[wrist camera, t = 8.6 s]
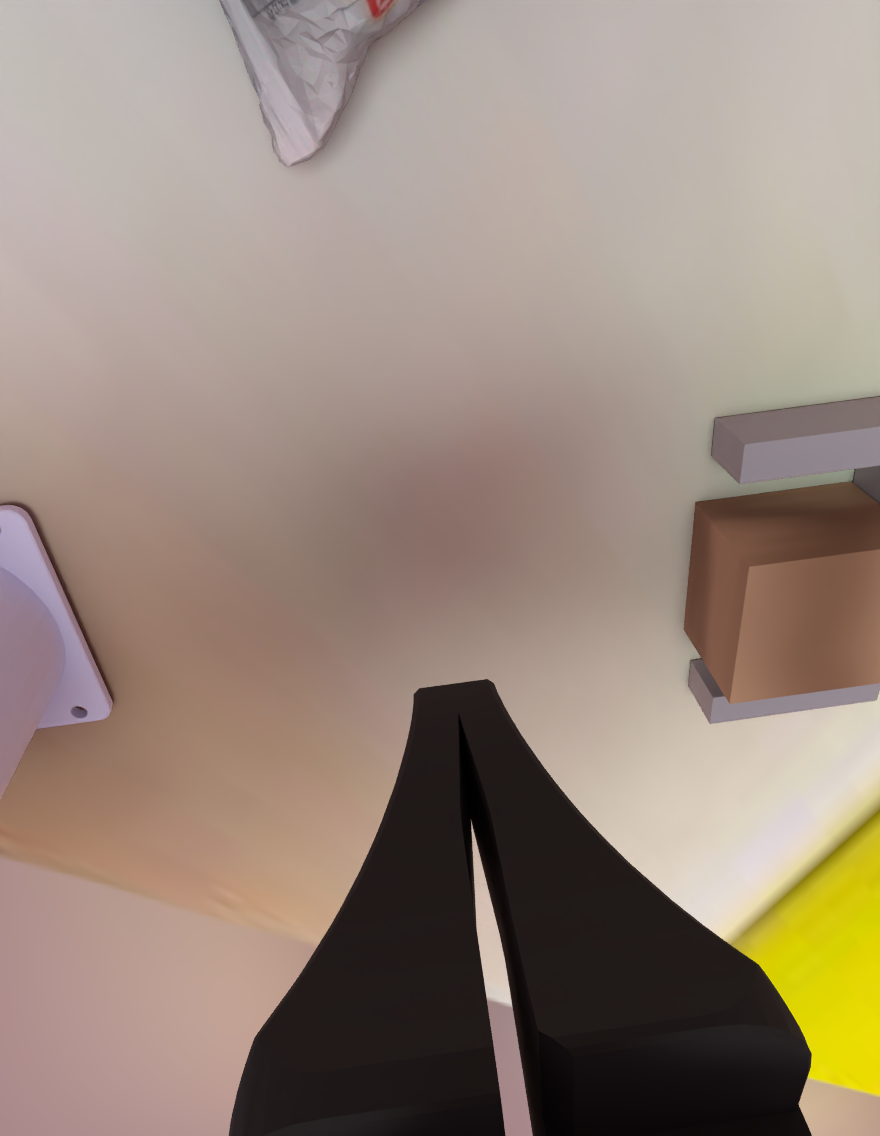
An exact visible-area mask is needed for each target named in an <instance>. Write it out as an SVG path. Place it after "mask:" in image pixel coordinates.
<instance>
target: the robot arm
mask: <svg viewBox="0 0 880 1136" xmlns="http://www.w3.org/2000/svg"><path fill="white" fill-rule="evenodd" d="M0 527H1V530H0V800H1V798H2V796H3V794H4V792H5V790H6V788H7V786H8V784H9V782H10V780H11V778H12V776H13V774H14V772H15V770H16V768H17V766H18V764H19V762H20V760H21V758H22V756H23V754H24V752H25V750H26V748H27V746H28V744H29V742H30V740H31V738H32V736H33V734H34V732H35V730H36V729H41V728H48V727H55V726H62V725H70V724H77V723H84V722H91V721H98V720H102V719H105V718H107V717H108V716H109V714H110V712H111V709H112V707H113V703H112V699H111V697H110V695H109V693H108V690H107V688H106V686H105V684H104V681H103V679H102V677H101V675H100V672H99V670H98V668H97V666H96V663H95V661H94V659H93V657H92V654H91V652H90V650H89V648H88V645H87V643H86V641H85V638H84V636H83V634H82V632H81V629H80V627H79V625H78V623H77V620H76V618H75V616H74V614H73V611H72V609H71V607H70V605H69V602H68V600H67V598H66V596H65V593H64V591H63V589H62V587H61V584H60V582H59V580H58V578H57V575H56V573H55V571H54V569H53V566H52V564H51V562H50V560H49V557H48V555H47V553H46V550H45V548H44V546H43V544H42V541H41V539H40V537H39V535H38V532H37V530H36V528H35V526H34V523H33V521H32V519H31V517H30V516H29V514H28V513H27V512H26V511H25V510H23V509H22V508H20V507H17V506H14V505H3V506H0ZM76 706H79V707H83V708H85V709H86V710H80V709H78V708H77V707H76ZM471 821H472V825H473V829H474V833H475V837H476V841H477V845H478V849H479V853H480V857H481V861H482V865H483V869H484V873H485V877H486V881H487V885H488V889H489V893H490V897H491V901H492V905H493V909H494V913H495V917H496V921H497V925H498V929H499V933H500V938H501V943H502V947H503V952H504V957H505V962H506V968H507V974H508V981H509V987H510V993H511V999H512V1006H513V1012H514V1018H515V1025H516V1031H517V1037H518V1044H519V1050H520V1056H521V1062H522V1068H523V1075H524V1081H525V1088H526V1094H527V1101H528V1107H529V1114H530V1120H531V1127H532V1133H533V1136H812V1135H811V1132H810V1130H809V1128H808V1126H807V1123H806V1121H805V1119H804V1116H803V1114H802V1112H801V1109H800V1107H799V1105H798V1103H799V1101H800V1098H801V1094H802V1092H803V1088H804V1085H805V1082H806V1080H807V1077H808V1074H809V1071H810V1068H811V1055H812V1053H811V1052H810V1050H809V1048H808V1045H807V1043H806V1040H805V1037H804V1035H803V1033H802V1031H801V1029H800V1027H799V1025H798V1024H797V1022H796V1020H795V1019H794V1017H793V1015H792V1014H791V1012H790V1010H789V1009H788V1007H787V1005H786V1004H785V1002H784V1001H783V999H782V997H781V996H780V994H779V993H778V991H777V990H776V988H775V987H774V985H773V984H772V982H771V981H770V980H769V978H768V977H767V975H766V974H765V972H764V971H763V970H762V968H761V967H760V966H759V965H758V964H757V963H756V962H754V961H753V960H751V959H750V958H748V957H747V956H745V955H744V954H742V953H741V952H740V951H738V950H737V949H735V948H734V947H732V946H731V945H730V944H728V943H727V942H725V941H724V940H723V939H721V938H720V937H719V936H717V935H716V934H715V933H713V932H712V931H710V930H709V929H708V928H706V927H705V926H704V925H702V924H701V923H700V922H699V921H697V920H696V919H695V918H694V917H692V916H691V915H690V914H688V913H687V912H686V911H685V910H683V909H682V908H681V907H680V906H678V905H677V904H676V903H675V902H673V901H672V900H671V899H670V898H669V897H668V896H666V895H665V894H664V893H663V892H662V891H661V890H660V889H658V888H657V887H656V886H655V885H654V884H653V883H652V882H650V881H649V880H648V879H647V878H646V877H645V876H644V875H642V874H641V873H640V872H639V871H638V870H637V869H636V868H635V867H633V866H632V865H631V864H630V863H629V862H628V861H627V860H626V859H625V858H624V857H623V856H622V855H621V854H620V853H619V852H618V851H617V850H616V849H615V848H614V847H613V846H612V845H611V844H610V843H609V842H608V841H607V840H606V839H605V838H604V837H603V836H602V835H601V834H600V833H599V832H598V831H597V830H596V829H595V828H594V827H593V826H592V825H591V824H590V823H589V821H588V820H587V819H586V818H585V817H584V816H583V815H582V814H581V813H580V811H579V810H578V809H577V808H576V807H575V806H574V804H573V803H572V802H571V801H570V800H569V798H568V797H567V796H566V795H565V794H564V792H563V791H562V790H561V789H560V787H559V786H558V785H557V784H556V782H555V781H554V780H553V779H552V777H551V776H550V775H549V773H548V772H547V771H546V769H545V768H544V767H543V765H542V764H541V763H540V761H539V760H538V758H537V757H536V755H535V754H534V753H533V751H532V750H531V748H530V747H529V746H528V744H527V743H526V741H525V740H524V738H523V737H522V735H521V734H520V732H519V730H518V729H517V727H516V725H515V724H514V722H513V721H512V719H511V717H510V715H509V714H508V712H507V710H506V708H505V707H504V705H503V703H502V701H501V699H500V697H499V694H498V692H497V690H496V688H495V685H494V683H492V682H491V681H489V680H488V679H485V680H478V681H471V682H463V683H456V684H449V685H441V686H434V687H427V688H419V689H418V690H417V691H416V693H415V694H414V704H413V713H412V720H411V726H410V731H409V735H408V740H407V744H406V748H405V752H404V756H403V759H402V763H401V766H400V770H399V773H398V777H397V780H396V783H395V786H394V789H393V792H392V795H391V797H390V800H389V803H388V806H387V808H386V811H385V814H384V817H383V819H382V822H381V825H380V827H379V829H378V832H377V834H376V837H375V839H374V841H373V844H372V846H371V848H370V851H369V853H368V855H367V857H366V859H365V861H364V863H363V866H362V868H361V870H360V872H359V874H358V876H357V878H356V880H355V882H354V884H353V886H352V887H351V889H350V891H349V893H348V895H347V897H346V899H345V901H344V903H343V905H342V907H341V908H340V910H339V912H338V914H337V916H336V917H335V919H334V921H333V923H332V924H331V926H330V928H329V929H328V931H327V932H326V934H325V936H324V937H323V939H322V940H321V942H320V944H319V945H318V947H317V948H316V950H315V952H314V953H313V955H312V956H311V958H310V960H309V961H308V963H307V964H306V966H305V968H304V969H303V971H302V973H301V974H300V975H299V977H298V978H297V980H296V981H295V983H294V984H293V986H292V987H291V988H290V990H289V991H288V993H287V994H286V996H285V997H284V998H283V999H282V1001H281V1002H280V1003H279V1005H278V1006H277V1008H276V1009H275V1010H274V1012H273V1013H272V1014H271V1016H270V1017H269V1018H268V1020H267V1021H266V1023H265V1024H264V1025H263V1027H262V1028H261V1030H260V1031H259V1032H258V1034H257V1035H256V1037H255V1038H254V1041H253V1044H252V1047H251V1049H250V1052H249V1055H248V1059H247V1062H246V1064H245V1068H244V1071H243V1074H242V1077H241V1081H240V1084H239V1088H238V1091H237V1096H236V1100H235V1105H234V1109H233V1113H232V1118H231V1124H230V1131H229V1136H505V1129H504V1121H503V1113H502V1105H501V1097H500V1090H499V1082H498V1077H497V1076H498V1075H497V1068H496V1061H495V1054H494V1047H493V1040H492V1033H491V1027H490V1019H489V1013H488V1006H487V999H486V992H485V985H484V978H483V971H482V965H481V958H480V951H479V944H478V937H477V929H476V909H475V890H474V870H473V851H472V832H471Z"/></svg>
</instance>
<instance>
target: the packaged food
mask: <svg viewBox="0 0 880 1136" xmlns="http://www.w3.org/2000/svg"><path fill="white" fill-rule="evenodd" d="M424 1H425V0H220V3H221V5H222V8H223V10H224V13H225V15H226V17H227V19H228V21H229V23H230V25H231V27H232V30H233V33H234V36H235V38H236V41H237V44H238V47H239V50H240V53H241V55H242V57H243V59H244V62H245V66H246V69H247V72H248V74H249V77H250V79H251V82H252V84H253V86H254V88H255V90H256V92H257V94H258V96H259V98H260V100H261V101H260V105H259V106H260V109H261V112H262V116H263V120H264V123H265V125H266V126H267V128H268V129H269V130H270V133H271V135H272V146H273V150H274V152H275V153H276V155H277V156H278V157H279V161H280V162H281V163H283V164H284V165H285V166H287V167H290V166H293V165H296V164H298V163H301V162H304V161H307V160H309V159H311V158H312V157H313V156H314V155H315V154H316V153H317V152H318V151H319V150H320V149H322V148H324V147H325V145H326V143H327V141H328V139H329V137H330V135H331V132H332V130H333V128H334V126H335V124H336V122H337V120H338V118H339V115H340V114H341V112H342V110H343V109H344V107H345V105H346V103H347V101H348V99H349V97H350V96H351V94H352V92H353V88H354V84H355V82H356V79H357V76H358V72H359V69H360V67H361V65H362V63H363V61H364V60H365V56H366V53H367V50H368V47H369V45H370V44H371V43H373V42H374V41H376V40H378V39H379V38H381V37H382V36H384V35H385V34H387V33H388V32H389V31H391V30H392V29H393V28H394V27H395V26H396V25H397V24H399V23H400V22H401V21H402V20H403V19H404V18H405V17H407V16H408V15H409V14H410V13H411V12H412V11H413V10H414V9H416V8H417V7H418V6H419V5H420V4H422V3H423V2H424Z"/></svg>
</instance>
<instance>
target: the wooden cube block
mask: <svg viewBox="0 0 880 1136" xmlns="http://www.w3.org/2000/svg"><path fill="white" fill-rule="evenodd" d="M684 630H685V632H686V633H687V635H688V637H689V638H690V640H691V642H692V643H693V645H694V647H695V648H696V650H697V651H698V653H699V655H700V656H701V658H702V660H703V661H704V663H705V665H706V666H707V668H708V670H709V671H710V673H711V674H712V676H713V678H714V679H715V681H716V683H717V684H718V686H719V688H720V689H721V691H722V692H723V694H724V696H725V697H726V699H727V701H728V702H729V704H734V703H741V702H748V701H755V700H762V699H770V698H777V697H784V696H791V695H798V694H806V693H813V692H820V691H827V690H835V689H842V688H849V687H856V686H863V685H871V684H878V683H880V504H879V503H878V502H877V501H875V500H874V499H873V498H872V497H870V496H869V495H868V494H866V493H865V492H864V491H863V490H861V489H860V488H859V487H857V486H856V485H855V484H854V483H852V482H851V481H850V482H842V483H835V484H827V485H820V486H812V487H805V488H797V489H790V490H782V491H775V492H767V493H760V494H752V495H745V496H737V497H730V498H722V499H715V500H707V501H700V502H695V513H694V524H693V535H692V546H691V556H690V567H689V578H688V589H687V600H686V610H685V621H684Z"/></svg>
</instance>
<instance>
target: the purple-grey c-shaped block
mask: <svg viewBox="0 0 880 1136" xmlns="http://www.w3.org/2000/svg"><path fill="white" fill-rule="evenodd" d="M711 456H712V457H713V458H714V459H715V460H716V461H717V462H718V463H719V464H720V465H721V466H722V467H723V468H724V469H725V470H726V471H727V472H728V473H729V474H730V475H731V476H732V477H733V478H734V479H735V480H736V481H737V482H738V483H739V484H745V483H753V482H760V481H768V480H775V479H783V478H790V477H797V476H805V475H812V474H820V473H827V472H835V471H842V470H850V469H856V470H855V475H854V480H853V483H854V484H855V485H856V486H857V487H859V488H860V489H861V490H863V491H864V492H865V493H866V494H868V495H869V496H870V497H872V498H873V499H874V500H875V501H877V502H878V503H879V504H880V397H872V398H865V399H857V400H850V401H842V402H834V403H827V404H819V405H811V406H804V407H796V408H789V409H781V410H773V411H766V412H758V413H751V414H743V415H735V416H728V417H720V418H715V424H714V434H713V444H712V454H711ZM688 686H689V688H690V690H691V691H692V693H693V695H694V697H695V698H696V700H697V702H698V704H699V706H700V707H701V709H702V711H703V713H704V714H705V716H706V718H707V720H708V721H709V723H710V724H713V723H720V722H727V721H734V720H741V719H748V718H755V717H762V716H769V715H776V714H783V713H790V712H797V711H804V710H811V709H818V708H825V707H832V706H839V705H846V704H853V703H860V702H868V701H875V700H877V697H878V693H879V690H880V683H878V684H871V685H863V686H856V687H849V688H842V689H835V690H827V691H820V692H813V693H806V694H798V695H791V696H784V697H777V698H770V699H762V700H755V701H748V702H741V703H734V704H729V702H728V701H727V699H726V697H725V696H724V694H723V692H722V691H721V689H720V688H719V686H718V684H717V683H716V681H715V679H714V678H713V676H712V674H711V673H710V671H709V670H708V668H707V666H706V665H705V663H704V661H703V660H702V659H698V660H691V664H690V674H689V684H688Z"/></svg>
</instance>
